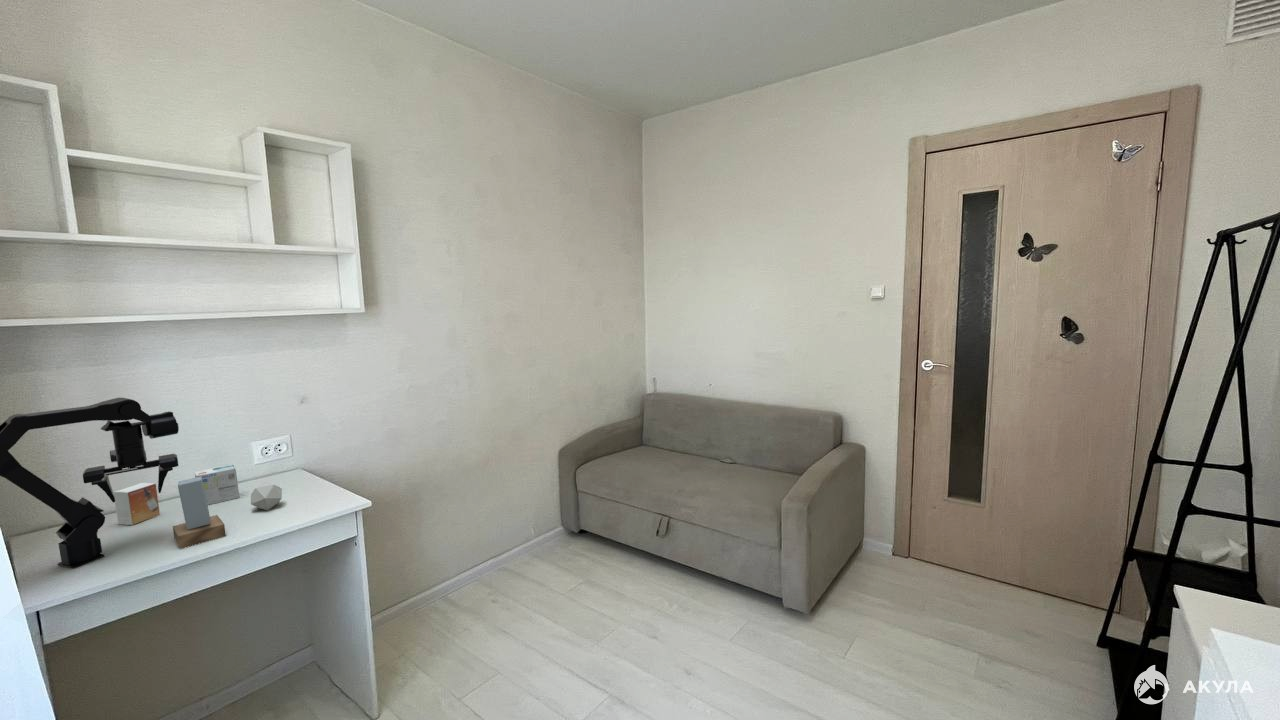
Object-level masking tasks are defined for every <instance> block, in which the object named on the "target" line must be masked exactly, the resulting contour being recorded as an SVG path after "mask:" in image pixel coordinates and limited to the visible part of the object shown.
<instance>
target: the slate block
mask: <svg viewBox="0 0 1280 720" xmlns="http://www.w3.org/2000/svg"><path fill="white" fill-rule="evenodd" d="M177 489H178V494H179V498H180V503H181V508H182V513H183V518H184V523H186V527H187V530H189V529H193V528H197V527H200V526H204V525H208V524H210V516H211V515H210V511H209V510H210V509H209V505H207V500H206V495H205V490H204V486H203V481H202V476H201V477H196V478H195V477H191V478H187V479H184V480H178V483H177Z"/></svg>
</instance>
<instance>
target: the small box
mask: <svg viewBox="0 0 1280 720" xmlns="http://www.w3.org/2000/svg"><path fill="white" fill-rule="evenodd" d="M157 491H158V488H157V483H154V482H153V483H152V482H140V483H137V484H135V485H131V486H128V487H125V488H122V489H119V490H115V491H114V490H113V493H114V496H115V502H114V504H115V510H116V517H117V518H116V519H117V524H118V525H124V526H126V525H127V526H134V525H136V524H138V523H141V522H144V521H148V520H149V519H150V520H151V519H152V518H155V517H158V516H160V515H161V511H160V506H159V497H158V492H157Z"/></svg>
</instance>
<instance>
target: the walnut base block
mask: <svg viewBox="0 0 1280 720" xmlns="http://www.w3.org/2000/svg"><path fill="white" fill-rule="evenodd" d="M225 527H226V526H225V523H224V521H222V519H221V518H220V516H219V515H218V514H216V515H210V524H208V525H204V526H200V527H197V528H193V529H189V530H187V527H186V522H184V523H180V524H177V525H172V531H173V538H174V541H175V542H176V544H177V546H178V548H179V550H181V549H182V550H183V549H185V547H186V548H189V547H193V546H195V544H196V545H199V543H200V544H203V543H206V541H207V542H210V541H213V539H214V540H217V539H220V537H221V538H223V537H227V534H226V528H225ZM209 540H210V541H209ZM202 542H203V543H202ZM192 545H193V546H192ZM188 546H189V547H188Z"/></svg>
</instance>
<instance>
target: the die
mask: <svg viewBox="0 0 1280 720" xmlns="http://www.w3.org/2000/svg"><path fill="white" fill-rule="evenodd" d="M282 495H283V488H281V487H280V486H278V485H276V484H274V483H271V482H270V483H269V482H266V481H265V482H263V483H262V484H260V485H257V486H256V487H255V488H254V489H253V491H252V492H251V494H250V505H251V506H253V507H257V508H258V509H261V510H265V511H269V510H270V509H272V508H274V507H275V506H277V505H278V504H279V503H280V501H281V500H282V498H283V496H282Z"/></svg>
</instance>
